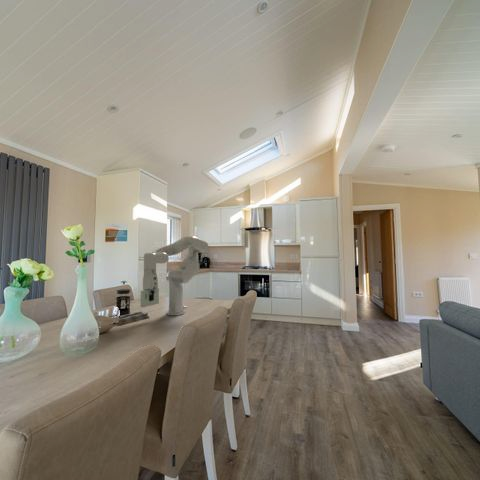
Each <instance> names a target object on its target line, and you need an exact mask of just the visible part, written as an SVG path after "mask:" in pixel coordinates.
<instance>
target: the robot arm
mask: <svg viewBox="0 0 480 480" xmlns="http://www.w3.org/2000/svg"><path fill="white" fill-rule="evenodd" d="M209 247H210V246H209V243H208V242H207V241H205V240H203V239H201V238H199V237H196V236H184V237H182V238H180V239H178V240H176V241H174V242H173V243H170V244H167V245H165V246H162V247H160V248H158V249H155V250H153V251H152V252H146V253H144V254H143V275H142V276H143V277H142V289H143V290H150V295H149V301H153V300H154V294H155V292H156V291H157V289H158V288H159V281H158V275H157V264H162V265H163V264H165V263H167V262H168V261H169V258H170V257H171V256H175V255H179V254H180V253H182V252H184V251H185V250H187V249H189V250H188V251H189V253H188V255H187V256H186V258H184V260H182V261H181V262H180V264H179V266H178V268H174V269H170V271H169V272H168V274H167V278H168V285H169V287H168V289H169V290H168V291H169V292H168V311H165V312H166V315H167V316H181V315H184V314H185V309H188V306H187V305H184V306H183V300H184V299H183V298H184V297H183V296H184V295H183V294H184V293H183V292H184V288H183V287H184V286H183V284H187V283H189V282H190V281H191V280H192V279H193V278H194V276H196V274H198V272H199V270H200V263H199V253H206V252H208V250H209ZM169 256H170V257H169ZM143 290H142V291H143Z"/></svg>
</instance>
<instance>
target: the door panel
mask: <svg viewBox="0 0 480 480" xmlns="http://www.w3.org/2000/svg"><path fill="white" fill-rule="evenodd" d="M149 295H150V290H140V308H146V307H150V306H154V305H159V304H160V296H159V295H160V289H159V287H158V289H157V291H156V292H155V294H154V300H153V301H149Z"/></svg>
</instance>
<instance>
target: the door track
mask: <svg viewBox="0 0 480 480" xmlns="http://www.w3.org/2000/svg"><path fill="white" fill-rule="evenodd" d="M146 319H150V316H149V313H148V312H143V311H141V310H140V311H136V312H130V314H127V315H122V316H120V317H119V319H118V322H117V323H116V324H115V325H118V326H123V325H127V324H130V323H135V322H139V321H143V320H146Z"/></svg>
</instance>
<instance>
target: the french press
mask: <svg viewBox="0 0 480 480" xmlns="http://www.w3.org/2000/svg"><path fill="white" fill-rule="evenodd" d="M121 283H122V284H123V285H125V284H126V283H128V281H126V280H125V281H121ZM130 293H131V289H130V288H129V289H128V288H125V286H123V289H122V288H121V289H116V294H117V295H119V296H116V299H115V300H116V306H115V308H116V307H118V308H119V310H120V316H122V315H127V314H131V312H130V311H131V309H130V308H131V307H130V306H131V296H129V295H128V294H130ZM121 295H122V296H121Z"/></svg>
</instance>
